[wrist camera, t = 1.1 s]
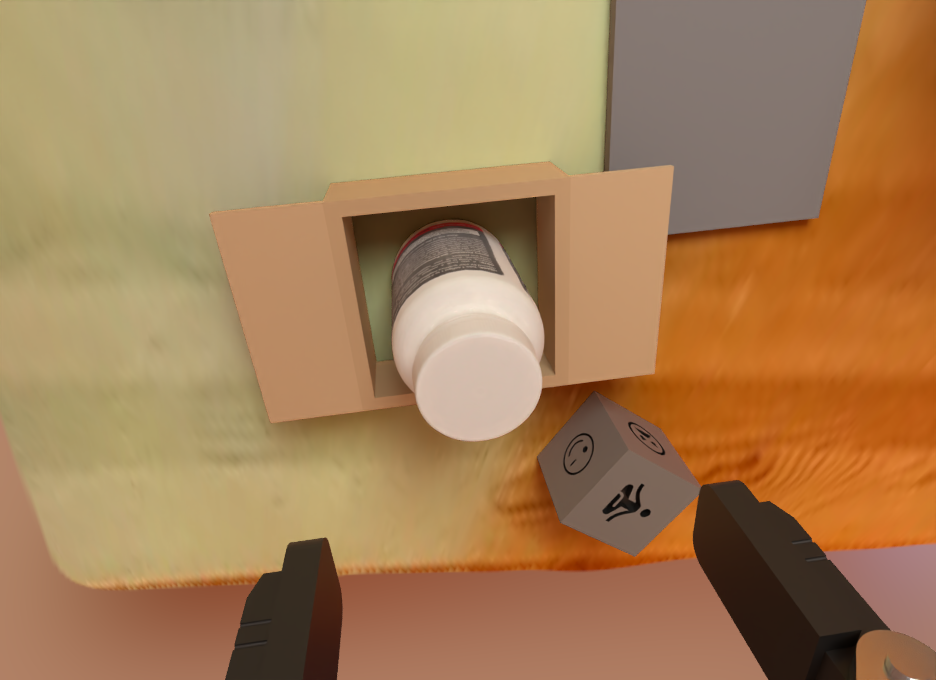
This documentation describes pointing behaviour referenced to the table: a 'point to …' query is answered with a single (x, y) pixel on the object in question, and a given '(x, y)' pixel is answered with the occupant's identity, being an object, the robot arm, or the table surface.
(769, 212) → the mat
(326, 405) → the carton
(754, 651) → the robot arm
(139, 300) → the table surface
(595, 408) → the dice cube
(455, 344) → the pill bottle
